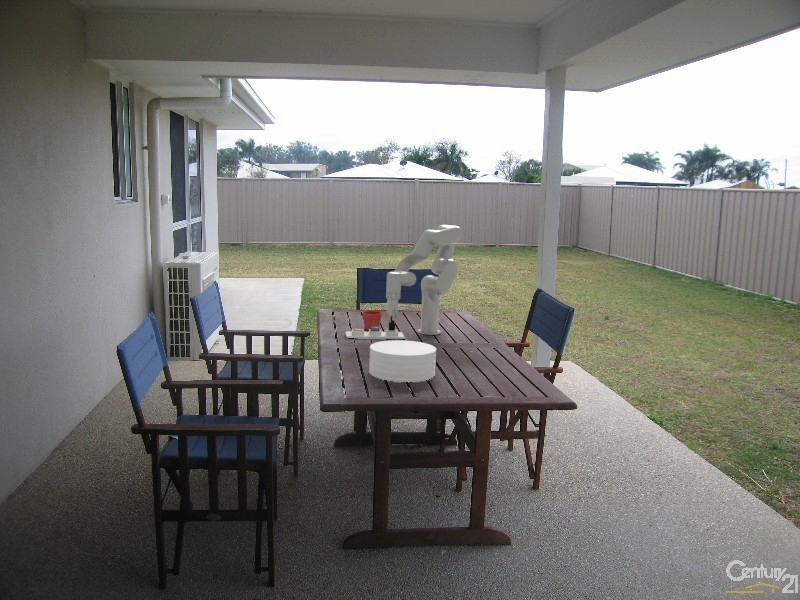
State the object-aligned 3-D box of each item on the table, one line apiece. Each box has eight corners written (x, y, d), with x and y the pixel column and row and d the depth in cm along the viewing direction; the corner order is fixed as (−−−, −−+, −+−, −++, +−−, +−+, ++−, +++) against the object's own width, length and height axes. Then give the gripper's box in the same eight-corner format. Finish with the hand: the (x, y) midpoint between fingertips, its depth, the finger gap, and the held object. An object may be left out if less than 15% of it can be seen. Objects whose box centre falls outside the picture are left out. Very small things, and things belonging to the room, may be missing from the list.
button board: (345, 334, 371) (345, 327, 370) (401, 334, 374) (401, 328, 374) (346, 339, 359) (346, 332, 358) (404, 339, 363) (404, 333, 362)
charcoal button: (370, 330, 368) (370, 326, 368) (378, 330, 369) (378, 326, 368) (371, 332, 364) (371, 328, 363) (379, 332, 364) (379, 328, 364)
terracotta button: (353, 332, 367) (353, 328, 367) (361, 332, 368) (361, 328, 367) (353, 334, 363) (353, 330, 362) (362, 334, 363) (362, 330, 363)
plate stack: (376, 363, 313) (377, 338, 311) (438, 368, 308) (439, 343, 306) (362, 379, 286) (363, 352, 284) (430, 385, 281) (431, 357, 279)
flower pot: (358, 330, 382) (359, 312, 380) (366, 326, 392) (366, 309, 390) (377, 332, 378) (377, 314, 377) (383, 328, 389) (384, 311, 387)
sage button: (387, 332, 369) (387, 329, 369) (395, 332, 370) (395, 329, 370) (388, 334, 365) (388, 330, 365) (396, 334, 366) (396, 330, 365)
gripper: (384, 293, 371) (383, 327, 374) (387, 297, 356) (386, 332, 359) (398, 293, 372) (397, 327, 375) (402, 298, 357) (400, 333, 360)
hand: (391, 330), depth 367 cm, fingers closed
